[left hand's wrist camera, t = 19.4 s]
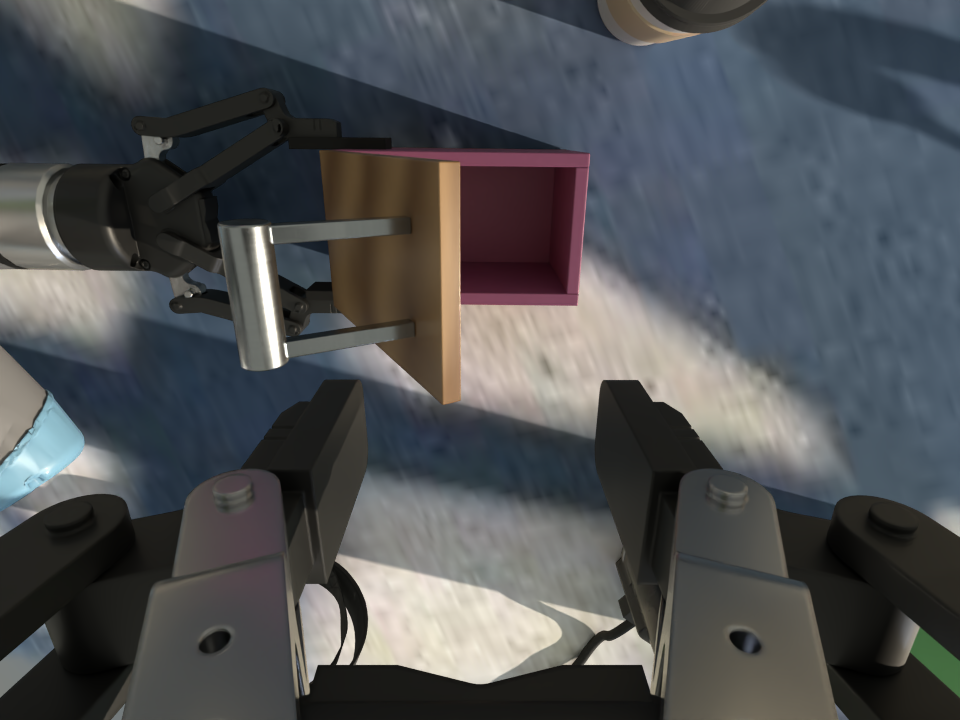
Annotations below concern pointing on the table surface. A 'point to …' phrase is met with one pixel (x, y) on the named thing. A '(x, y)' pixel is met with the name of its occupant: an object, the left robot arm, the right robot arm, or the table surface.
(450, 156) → the chest
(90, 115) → the table surface
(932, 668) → the toy game set
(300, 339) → the lid
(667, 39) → the coffee cup
